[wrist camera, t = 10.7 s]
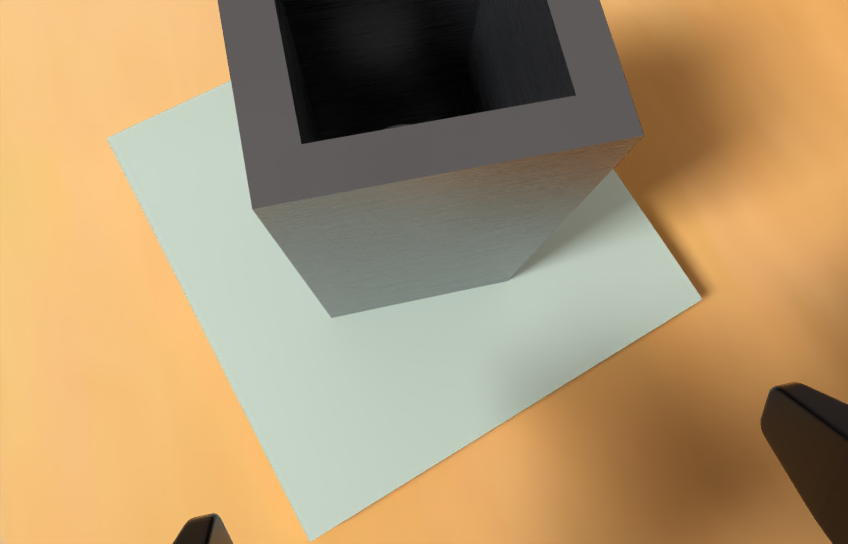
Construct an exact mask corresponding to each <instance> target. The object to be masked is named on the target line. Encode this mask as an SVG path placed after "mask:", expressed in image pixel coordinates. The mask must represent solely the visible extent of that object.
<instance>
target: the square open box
mask: <svg viewBox="0 0 848 544" xmlns="http://www.w3.org/2000/svg"><path fill="white" fill-rule="evenodd" d="M218 5H219V11H220V17H221V23H222V29H223V35H224V41H225V47H226V54H227V60H228V66H229V72H230V78H231V84H232V90H233V96H234V102H235V108H236V114H237V120H238V126H239V133H240V139H241V145H242V151H243V157H244V163H245V169H246V175H247V181H248V187H249V193H250V199H251V205H252V210H253V211H254V212H255V214H256V215H257V217H258V218H259V219H260V221H261V222H262V223H263V225H264V226H265V228H266V229H267V230H268V232H269V233H270V234H271V236H272V237H273V239H274V240H275V241H276V243H277V244H278V245H279V247H280V248H281V249H282V251H283V252H284V254H285V255H286V256H287V258H288V259H289V260H290V262H291V263H292V265H293V266H294V267H295V269H296V270H297V271H298V273H299V274H300V276H301V277H302V278H303V280H304V281H305V282H306V284H307V285H308V287H309V288H310V289H311V291H312V292H313V293H314V295H315V296H316V298H317V299H318V300H319V302H320V303H321V304H322V306H323V307H324V309H325V310H326V311H327V313H328V314H329V315H330V317H331V318H334V317H339V316H344V315H348V314H353V313H358V312H363V311H367V310H372V309H377V308H382V307H386V306H391V305H396V304H401V303H406V302H410V301H415V300H420V299H425V298H429V297H434V296H439V295H444V294H448V293H453V292H458V291H463V290H468V289H472V288H477V287H482V286H487V285H491V284H496V283H501V282H506V281H508V280H509V279H510V278H511V277H512V276H513V275H514V274H515V272H516V271H517V270H518V269H519V268H520V267H521V266H522V265H523V264H524V263H525V262H526V261H527V260H528V259H529V258H530V256H531V255H532V254H533V253H534V252H535V251H536V250H537V249H538V248H539V247H540V246H541V245H542V244H543V243H544V242H545V241H546V239H547V238H548V237H549V236H550V235H551V234H552V233H553V232H554V231H555V230H556V229H557V228H558V227H559V226H560V225H561V224H562V222H563V221H564V220H565V219H566V218H567V217H568V216H569V215H570V214H571V213H572V212H573V211H574V210H575V209H576V208H577V207H578V205H579V204H580V203H581V202H582V201H583V200H584V199H585V198H586V197H587V196H588V195H589V194H590V193H591V192H592V191H593V190H594V188H595V187H596V186H597V185H598V184H599V183H600V182H601V181H602V180H603V179H604V178H605V177H606V176H607V175H608V174H609V172H610V171H611V170H612V169H613V168H614V167H615V166H616V165H617V164H618V163H619V162H620V161H621V160H622V159H623V158H624V157H625V155H626V154H627V153H628V152H629V151H630V150H631V149H632V148H633V147H634V146H635V145H636V144H637V143H638V142H639V141H640V140H641V138H642V137H643V136H644V133H643V130H642V127H641V124H640V121H639V118H638V115H637V112H636V109H635V106H634V103H633V100H632V97H631V94H630V91H629V88H628V85H627V82H626V79H625V76H624V73H623V70H622V67H621V64H620V61H619V58H618V55H617V51H616V48H615V45H614V42H613V39H612V36H611V33H610V30H609V27H608V24H607V21H606V18H605V15H604V12H603V9H602V6H601V3H600V0H218ZM401 124H409V125H407V126H402V127H396V128H390V129H385V128H388V127H391V126H394V125H401ZM383 129H385V130H383Z"/></svg>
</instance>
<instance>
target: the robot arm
mask: <svg viewBox="0 0 848 544" xmlns="http://www.w3.org/2000/svg"><path fill="white" fill-rule="evenodd" d="M761 429H762V432H763V434H764V436H765V438H766V440H767V441H768V443H769V445H770V446H771V448H772V450H773V451H774V453H775V455H776V456H777V458H778V460H779V461H780V463H781V465H782V466H783V468H784V470H785V471H786V473H787V474H788V476H789V478H790V479H791V481H792V483H793V484H794V486H795V488H796V489H797V491H798V493H799V494H800V496H801V498H802V499H803V501H804V503H805V504H806V506H807V507H808V509H809V511H810V512H811V514H812V515H813V517H814V518H815V520H816V521H817V523H818V524H819V526H820V527H821V528H822V530H823V531H824V533H825V534H826V535H827V537H828V538H829V539H830V541H831V542H832V544H848V404H846V403H844V402H841V401H839V400H837V399H835V398H833V397H830V396H828V395H826V394H824V393H822V392H819V391H817V390H815V389H813V388H811V387H808V386H806V385H804V384H801V383H796V382H793V383H787V384H783V385H779V386H775V387H773V388H772V389H771V390H770V391H769V394H768V397H767V400H766V404H765V407H764V410H763V414H762V417H761ZM173 544H233V542H232V540H231V538H230V536H229V534H228V532H227V530H226V528H225V526H224V524H223V522H222V520H221V518H220V517H219V515H217V514H215V513H213V514H208V515H203V516H199V517H194V518H192V519H190V520H189V521H187V523H186V524H185V525H184V526H183V528H182V530H181V531H180V533H179V534H178V536H177V537H176V539H175V541H174V542H173Z"/></svg>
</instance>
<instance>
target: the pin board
mask: <svg viewBox="0 0 848 544" xmlns="http://www.w3.org/2000/svg"><path fill="white" fill-rule="evenodd" d="M407 125H409V124H401V125H394V126H391V127H388V128H385V129H390V128H396V127H402V126H407ZM385 129H383V130H385ZM107 140H108V142H109V144H110V146H111V148H112V150H113V152H114V154H115V156H116V158H117V160H118V162H119V164H120V166H121V168H122V170H123V172H124V174H125V176H126V178H127V180H128V182H129V184H130V186H131V188H132V190H133V192H134V194H135V196H136V198H137V200H138V202H139V204H140V206H141V208H142V210H143V212H144V213H145V215H146V217H147V219H148V221H149V223H150V225H151V227H152V229H153V231H154V233H155V235H156V237H157V239H158V241H159V243H160V245H161V247H162V249H163V251H164V253H165V255H166V257H167V259H168V261H169V263H170V265H171V267H172V269H173V271H174V273H175V275H176V277H177V279H178V281H179V283H180V285H181V287H182V289H183V291H184V293H185V295H186V297H187V299H188V301H189V303H190V305H191V307H192V309H193V311H194V313H195V315H196V317H197V319H198V321H199V323H200V325H201V327H202V329H203V331H204V333H205V335H206V337H207V339H208V341H209V343H210V345H211V347H212V349H213V351H214V353H215V355H216V357H217V359H218V361H219V363H220V365H221V367H222V369H223V371H224V373H225V375H226V376H227V378H228V380H229V382H230V384H231V386H232V388H233V390H234V392H235V394H236V396H237V398H238V400H239V402H240V404H241V406H242V408H243V410H244V412H245V414H246V416H247V418H248V420H249V422H250V424H251V426H252V428H253V430H254V432H255V434H256V436H257V438H258V440H259V442H260V444H261V446H262V448H263V450H264V452H265V454H266V456H267V458H268V460H269V462H270V464H271V466H272V468H273V470H274V472H275V474H276V476H277V478H278V480H279V482H280V484H281V486H282V488H283V490H284V492H285V494H286V496H287V498H288V500H289V502H290V504H291V506H292V508H293V510H294V512H295V514H296V516H297V518H298V520H299V522H300V524H301V526H302V528H303V530H304V532H305V534H306V536H307V538H308V540H309V541H310V542H311V541H313V540H314V539H316V538H318V537H319V536H321V535H322V534H324V533H326V532H327V531H329V530H330V529H332V528H334V527H335V526H337V525H339V524H340V523H342V522H343V521H345V520H347V519H348V518H350V517H351V516H353V515H355V514H356V513H358V512H360V511H361V510H363V509H364V508H366V507H368V506H369V505H371V504H372V503H374V502H376V501H377V500H379V499H380V498H382V497H384V496H385V495H387V494H389V493H390V492H392V491H393V490H395V489H397V488H398V487H400V486H401V485H403V484H405V483H406V482H408V481H410V480H411V479H413V478H414V477H416V476H418V475H419V474H421V473H422V472H424V471H426V470H427V469H429V468H431V467H432V466H434V465H435V464H437V463H439V462H440V461H442V460H443V459H445V458H447V457H448V456H450V455H452V454H453V453H455V452H456V451H458V450H460V449H461V448H463V447H464V446H466V445H468V444H469V443H471V442H473V441H474V440H476V439H477V438H479V437H481V436H482V435H484V434H485V433H487V432H489V431H490V430H492V429H494V428H495V427H497V426H498V425H500V424H502V423H503V422H505V421H506V420H508V419H510V418H511V417H513V416H515V415H516V414H518V413H519V412H521V411H523V410H524V409H526V408H527V407H529V406H531V405H532V404H534V403H536V402H537V401H539V400H540V399H542V398H544V397H545V396H547V395H548V394H550V393H552V392H553V391H555V390H557V389H558V388H560V387H561V386H563V385H565V384H566V383H568V382H569V381H571V380H573V379H574V378H576V377H578V376H579V375H581V374H582V373H584V372H586V371H587V370H589V369H590V368H592V367H594V366H595V365H597V364H599V363H600V362H602V361H603V360H605V359H607V358H608V357H610V356H611V355H613V354H615V353H616V352H618V351H620V350H621V349H623V348H624V347H626V346H628V345H629V344H631V343H632V342H634V341H636V340H637V339H639V338H641V337H642V336H644V335H645V334H647V333H649V332H650V331H652V330H653V329H655V328H657V327H658V326H660V325H662V324H663V323H665V322H666V321H668V320H670V319H671V318H673V317H674V316H676V315H678V314H679V313H681V312H683V311H684V310H686V309H687V308H689V307H691V306H692V305H694V304H695V303H697V302H699V301H700V300H702V298H701V296H700V295H699V293H698V292H697V290H696V289H695V287H694V286H693V285H692V283H691V282H690V280H689V279H688V277H687V276H686V274H685V273H684V271H683V270H682V268H681V267H680V265H679V264H678V263H677V261H676V260H675V258H674V257H673V255H672V254H671V252H670V251H669V249H668V248H667V246H666V245H665V243H664V242H663V241H662V239H661V238H660V236H659V235H658V233H657V232H656V230H655V229H654V227H653V226H652V224H651V223H650V221H649V220H648V219H647V217H646V216H645V214H644V213H643V211H642V210H641V208H640V207H639V205H638V204H637V202H636V201H635V199H634V198H633V197H632V195H631V194H630V192H629V191H628V189H627V188H626V186H625V185H624V183H623V182H622V180H621V179H620V178H619V176H618V175H617V173H616V172H615V170H614V169H612V170H611V171H610V172H609V174H608V175H607V176H606V177H605V178H604V179H603V180H602V181H601V182H600V183H599V184H598V185H597V186H596V187H595V188H594V190H593V191H592V192H591V193H590V194H589V195H588V196H587V197H586V198H585V199H584V200H583V201H582V202H581V203H580V204H579V205H578V207H577V208H576V209H575V210H574V211H573V212H572V213H571V214H570V215H569V216H568V217H567V218H566V219H565V220H564V221H563V222H562V224H561V225H560V226H559V227H558V228H557V229H556V230H555V231H554V232H553V233H552V234H551V235H550V236H549V237H548V238H547V239H546V241H545V242H544V243H543V244H542V245H541V246H540V247H539V248H538V249H537V250H536V251H535V252H534V253H533V254H532V255H531V256H530V258H529V259H528V260H527V261H526V262H525V263H524V264H523V265H522V266H521V267H520V268H519V269H518V270H517V271H516V272H515V274H514V275H513V276H512V277H511V278H510V279H509V280H508V281H506V282H501V283H496V284H491V285H487V286H482V287H477V288H472V289H468V290H463V291H458V292H453V293H448V294H444V295H439V296H434V297H429V298H425V299H420V300H415V301H410V302H406V303H401V304H396V305H391V306H386V307H382V308H377V309H372V310H367V311H363V312H358V313H353V314H348V315H344V316H339V317H334V318H331V317H330V315H329V314H328V313H327V311H326V310H325V309H324V307H323V306H322V304H321V303H320V302H319V300H318V299H317V298H316V296H315V295H314V293H313V292H312V291H311V289H310V288H309V287H308V285H307V284H306V282H305V281H304V280H303V278H302V277H301V276H300V274H299V273H298V271H297V270H296V269H295V267H294V266H293V265H292V263H291V262H290V260H289V259H288V258H287V256H286V255H285V254H284V252H283V251H282V249H281V248H280V247H279V245H278V244H277V243H276V241H275V240H274V239H273V237H272V236H271V234H270V233H269V232H268V230H267V229H266V228H265V226H264V225H263V223H262V222H261V221H260V219H259V218H258V217H257V215H256V214H255V212H254V211H253V210H252V205H251V199H250V193H249V187H248V181H247V175H246V169H245V163H244V157H243V151H242V145H241V139H240V133H239V126H238V120H237V114H236V108H235V102H234V96H233V90H232V84H231V81H229V82H227V83H224V84H222V85H220V86H218V87H216V88H214V89H212V90H209V91H207V92H205V93H203V94H201V95H199V96H196V97H194V98H192V99H190V100H188V101H186V102H183V103H181V104H179V105H177V106H175V107H173V108H171V109H168V110H166V111H164V112H162V113H160V114H158V115H155V116H153V117H151V118H149V119H147V120H145V121H142V122H140V123H138V124H136V125H134V126H132V127H130V128H127V129H125V130H123V131H121V132H119V133H117V134H114V135H112V136H110V137H108V138H107Z"/></svg>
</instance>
